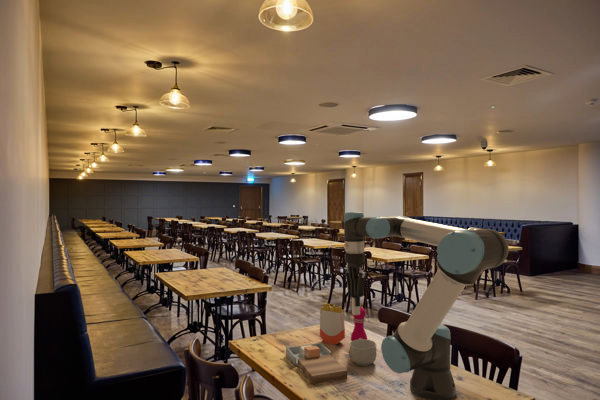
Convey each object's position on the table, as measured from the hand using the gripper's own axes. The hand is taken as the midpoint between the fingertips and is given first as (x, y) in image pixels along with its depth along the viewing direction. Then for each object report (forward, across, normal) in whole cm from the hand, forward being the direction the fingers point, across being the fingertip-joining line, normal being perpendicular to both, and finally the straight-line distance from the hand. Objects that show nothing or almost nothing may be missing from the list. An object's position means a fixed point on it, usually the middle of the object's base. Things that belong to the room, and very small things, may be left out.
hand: (356, 314), depth 153 cm
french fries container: (+22, -34, +7) cm, 41 cm away
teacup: (+23, -10, +8) cm, 26 cm away
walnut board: (+22, -7, -12) cm, 26 cm away
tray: (+22, -21, -11) cm, 32 cm away
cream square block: (+21, -22, -11) cm, 32 cm away
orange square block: (+19, -17, -11) cm, 28 cm away
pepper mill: (+22, -22, +14) cm, 34 cm away
